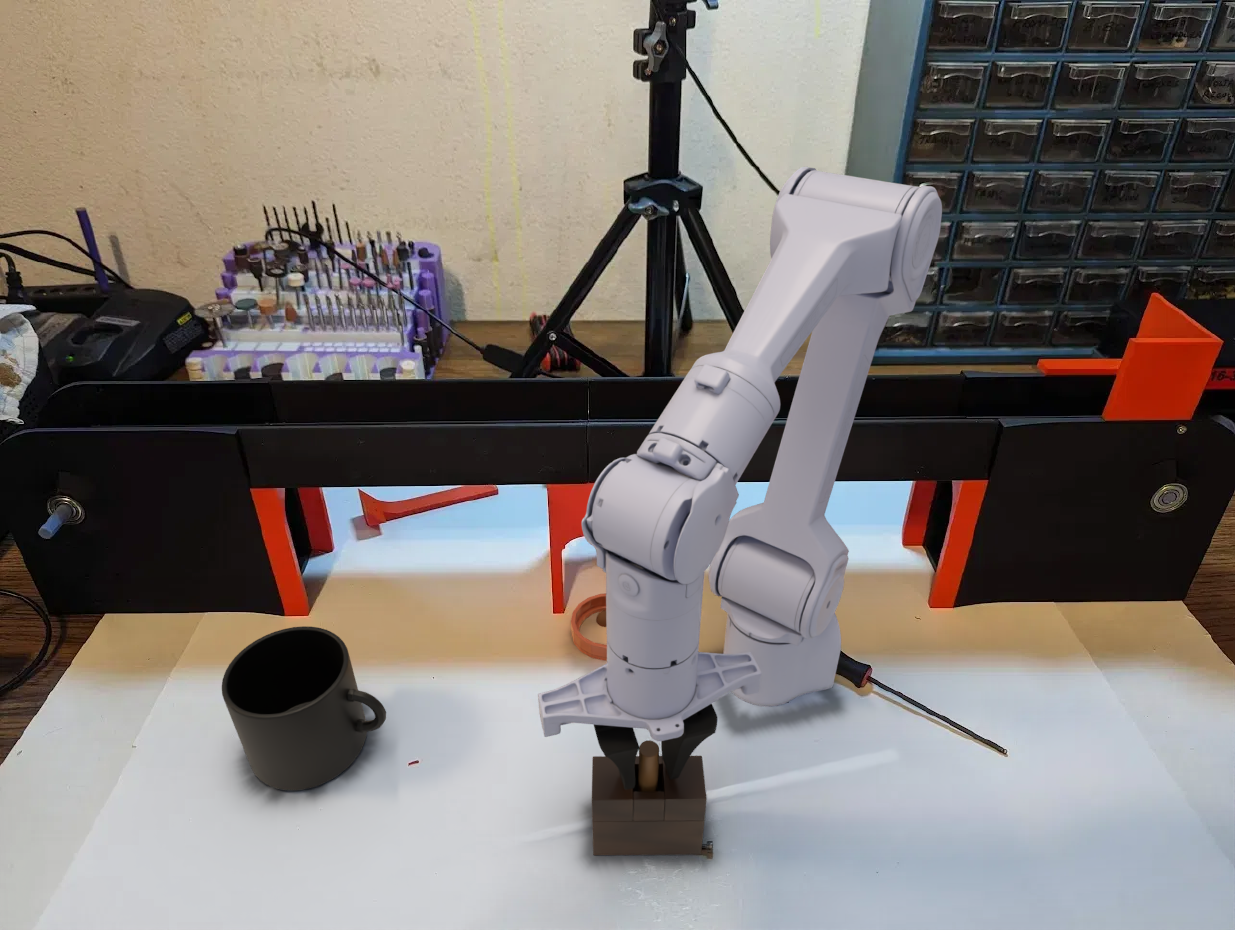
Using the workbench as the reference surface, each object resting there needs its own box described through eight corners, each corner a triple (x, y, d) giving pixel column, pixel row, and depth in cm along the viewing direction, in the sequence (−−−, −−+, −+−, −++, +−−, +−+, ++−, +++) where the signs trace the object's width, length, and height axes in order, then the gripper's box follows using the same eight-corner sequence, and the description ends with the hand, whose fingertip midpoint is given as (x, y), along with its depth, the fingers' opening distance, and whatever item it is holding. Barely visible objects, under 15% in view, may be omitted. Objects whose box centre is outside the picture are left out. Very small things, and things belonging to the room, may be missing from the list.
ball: (612, 618, 80) (612, 605, 79) (616, 631, 78) (616, 617, 77) (594, 621, 79) (594, 608, 78) (598, 634, 78) (598, 621, 77)
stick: (654, 788, 60) (655, 738, 56) (659, 804, 58) (661, 754, 55) (635, 792, 59) (636, 742, 56) (640, 809, 58) (642, 759, 55)
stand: (696, 810, 63) (702, 755, 59) (701, 855, 60) (706, 799, 56) (594, 811, 63) (592, 756, 59) (593, 855, 60) (591, 800, 56)
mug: (374, 801, 63) (353, 726, 58) (228, 787, 64) (196, 712, 59) (412, 706, 71) (396, 632, 66) (281, 694, 72) (257, 621, 67)
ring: (635, 609, 81) (636, 587, 80) (656, 662, 75) (657, 639, 74) (565, 622, 80) (564, 599, 78) (581, 677, 74) (580, 654, 72)
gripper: (548, 708, 45) (558, 847, 52) (789, 659, 48) (766, 798, 55) (528, 620, 51) (539, 757, 58) (744, 582, 54) (729, 717, 61)
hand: (648, 771), depth 57 cm, fingers open, 3 cm apart
